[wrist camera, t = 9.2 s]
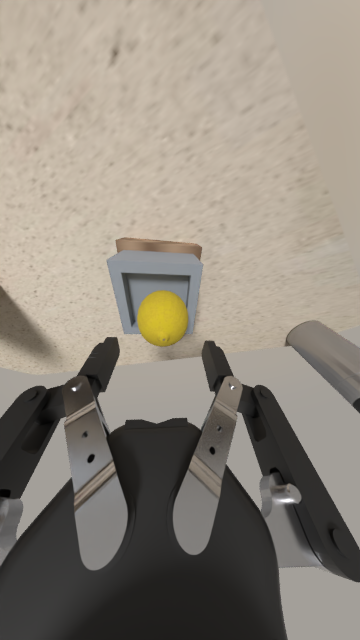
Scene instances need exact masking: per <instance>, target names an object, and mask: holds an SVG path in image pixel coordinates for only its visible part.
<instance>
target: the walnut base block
mask: <svg viewBox="0 0 360 640" xmlns="http://www.w3.org/2000/svg"><path fill="white" fill-rule="evenodd" d="M116 246H117V252H118V253H119V252H121V251H123V250H134V251H152V252H169V253H186V254H194V255H195V256H196V257H197V258H198V259H199V261H200V257H201V251H202V247H201V246H199V245H198V244H194V243H182V242H171V241H160V240H148V239H137V238H121V239H118V240H116Z"/></svg>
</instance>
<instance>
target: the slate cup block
mask: <svg viewBox="0 0 360 640" xmlns="http://www.w3.org/2000/svg"><path fill="white" fill-rule="evenodd" d="M107 265H108V269H109V273H110V277H111V281H112V285H113V290H114V294H115V298H116V302H117V306H118V310H119V314H120V319H121V323H122V327H123V331H124V334H141V333H140V331H139V328H138V322H137V315H138V309H139V307H140V305H141V302H142V301H143V300H144V299H145V298H146V296H148V295H149V294H151V293H152V292H155V291H159V290H166V291H170V292H173V293H175V294H176V295H178V296H179V297H180V298H181V299H182V300H183V302H184V303H185V305H186V308H187V311H188V326H187V330H186V332H185V334H192V333H193V326H194V320H195V314H196V307H197V301H198V294H199V288H200V282H201V275H202V269H203V264H202V263H201V262H200V261H199V259H198V258H197V257H196V256H195V255H194V254H186V253H169V252H152V251H134V250H123V251H121V252H119V253H117V254H116V255H114V256H112V257H110V258H109V259H107Z"/></svg>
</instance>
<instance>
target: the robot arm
mask: <svg viewBox="0 0 360 640" xmlns="http://www.w3.org/2000/svg"><path fill="white" fill-rule="evenodd" d="M287 342H288V343H289V344H290V345H291V346H292V347H293V348H294V349H295V350H296V351H297V352H298V353H299V354H300V355H301V356H302V357H303V358H304V359H305V360H306V361H307V362H308V363H309V364H310V365H311V366H312V367H313V368H314V369H315V370H316V371H317V372H318V373H319V374H320V375H321V376H322V377H323V378H324V379H325V380H326V381H327V382H328V383H330V385H331V386H332V387H333V388H335V390H337V391H338V392H339V393H340V394H341V395H342V396H343V397H344V398H345V399H346V400H347V401H348V402H349V403H350V404H351V405H352V406H353V407H354V408H355V409H356V410H357V411H358V412H359V413H360V348H359V347H358V346H356V345H355V344H353V343H351V342H350V341H348V340H347V339H345V338H344V337H342V336H341V335H339V334H338V333H336V332H335V331H333V330H331V329H330V328H328V327H327V326H325V325H324V324H322V323H320V322H319V321H309V322H305V323H303V324H301V325H299V326H297V327H296V328H294V329H293V330H292V331H291V332H290V333H289V335H288V337H287ZM119 353H120V349H119V344H118V340H117V337H107V338H106V339H105V341H104V343H99V344H98V345H97V346H95V347H94V349H93V351H92V352H91V354H90V355H89V358H88V359H87V360H86V362H85V363H84V365H83V367H82V368H81V370H80V372H79V373H78V375H77V376H76V377H73V378H72V379H70V380H68V381H67V382H66V383H65V384H64V385H61V386H57V387H54V388H50V389H46V388H45V387H44V386H35V387H32V388H30V389H28V390H26V391H25V392H23V393H22V394H21V395H20V396H19V397H18V398H17V399H16V400H15V401H14V403H13V404H12V405H11V406H10V407H9V409H8V410H7V411H6V412H5V414H4V415H3V416H2V417H1V418H0V640H288V639H287V634H286V629H285V624H284V618H283V611H282V605H281V596H280V584H279V568H285V567H311V566H313V567H316V568H319V569H322V570H324V571H327V572H330V573H333V574H336V575H338V576H341V577H344V578H347V579H349V580H352V581H355V582H360V550H359V547H358V545H357V543H356V542H355V540H354V538H353V536H352V534H351V533H350V531H349V529H348V527H347V525H346V524H345V522H344V520H343V518H342V516H341V515H340V513H339V511H338V509H337V508H336V506H335V504H334V502H333V500H332V499H331V497H330V495H329V494H328V492H327V490H326V488H325V486H324V484H323V483H322V481H321V479H320V477H319V475H318V474H317V472H316V470H315V468H314V467H313V465H312V463H311V461H310V459H309V458H308V456H307V454H306V452H305V451H304V449H303V447H302V445H301V443H300V442H299V440H298V438H297V436H296V434H295V433H294V431H293V429H292V427H291V425H290V424H289V422H288V420H287V418H286V417H285V415H284V413H283V411H282V410H281V408H280V406H279V404H278V402H277V400H276V399H275V397H274V395H273V394H272V392H271V391H270V390H269V389H268V388H266V387H265V386H262V385H256V386H255V387H254V388H252V387H249V386H247V385H243V384H241V382H240V381H239V380H238V379H237V378H235V377H234V376H233V373H232V371H231V369H230V366H229V364H228V362H227V359H226V357H225V355H224V352H223V350H222V349H221V348H220V347H217V346H216V345H215V342H214V341H205V343H204V346H203V350H202V360H203V364H204V368H205V371H206V376H207V380H208V384H209V388H210V391H215V398H214V400H213V402H212V405H211V407H210V409H209V411H208V414H207V416H206V418H205V421H204V423H203V425H202V427H201V430H200V429H199V428H197V427H196V426H195V425H193V424H191V423H189V422H187V418H172V419H170V420H167V421H164V422H161V423H158V424H156V423H152V422H149V421H145V420H126V422H125V425H123V426H121V427H119V428H117V429H115V430H114V431H113V432H111V433H110V430H109V428H108V425H107V423H106V421H105V418H104V415H103V412H102V410H101V407H100V404H99V401H98V398H97V397H98V395H99V393H100V392H105V390H106V388H107V385H108V383H109V380H110V378H111V375H112V372H113V370H114V367H115V365H116V362H117V360H118V357H119ZM236 412H240V413H242V415H243V418H244V421H245V424H246V427H247V430H248V433H249V436H250V439H251V442H252V445H253V448H254V451H255V454H256V457H257V460H258V463H259V466H260V469H261V472H262V475H263V477H262V478H261V480H260V493H261V498H262V509H261V512H260V510H259V508H258V507H257V506H256V504H255V503H254V501H253V500H252V499H251V497H250V496H249V495H248V493H247V492H246V490H245V489H244V488H243V487H242V485H241V484H240V482H239V481H238V480H237V478H236V477H235V476H234V474H233V473H232V471H231V470H230V469H229V467H228V466H227V465H226V462H227V457H228V454H229V450H230V445H231V442H232V438H233V433H234V429H235V426H236V422H237V415H236ZM63 417H66V418H67V419H66V421H65V422H64V429H65V435H66V442H67V448H68V454H69V461H70V468H71V474H72V477H71V478H70V480H69V481H68V482H67V483H66V484H65V485H64V486H63V488H62V489H61V490H60V491H59V492H58V493H57V494H56V496H55V497H54V498H53V499H52V500H51V501H50V503H49V504H48V505H47V506H46V507H45V508H44V510H43V511H42V512H41V513H40V514H39V515H38V516H37V518H36V519H35V520H34V521H33V522H32V523H31V524H30V526H29V527H28V528H27V529H26V530H25V532H24V533H23V534H22V535H21V536H20V538H19V539H18V540H17V539H16V532H17V527H18V524H19V522H20V518H21V516H22V512H23V503H22V501H21V500H20V498H21V496H22V494H23V492H24V490H25V488H26V486H27V484H28V482H29V480H30V478H31V476H32V474H33V472H34V470H35V468H36V466H37V464H38V462H39V460H40V458H41V456H42V454H43V452H44V450H45V448H46V447H47V445H48V443H49V441H50V439H51V437H52V435H53V433H54V431H55V429H56V427H57V425H58V423H59V421H60V419H61V418H63Z"/></svg>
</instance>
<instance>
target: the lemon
mask: <svg viewBox="0 0 360 640" xmlns="http://www.w3.org/2000/svg"><path fill="white" fill-rule="evenodd" d="M137 322H138V328H139V331H140V333H141V334H142V336H143V337H144V338H145V340H146V341H148V342H149V343H151V344H153V345H156V346H170V345H172V344H175V343H176V342H178V341H179V340H180V339H181V338H182V337H183V336H184V334H185V332H186V330H187V326H188V311H187V308H186V305H185V303H184V302H183V300H182V299H181V298H180V297H179V296H178V295H176V294H175V293H173V292H170V291H166V290H159V291H155V292H152V293H151V294H149V295H148V296H146V298H145V299H144V300H143V301H142V302H141V305H140V307H139V309H138V315H137Z"/></svg>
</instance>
